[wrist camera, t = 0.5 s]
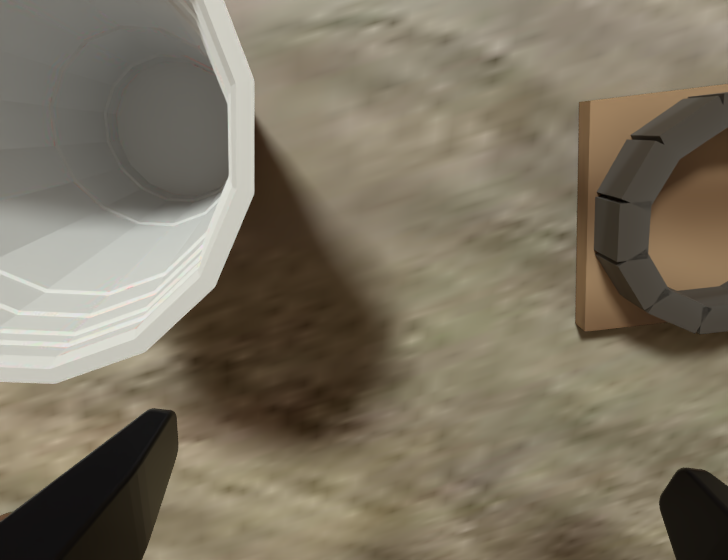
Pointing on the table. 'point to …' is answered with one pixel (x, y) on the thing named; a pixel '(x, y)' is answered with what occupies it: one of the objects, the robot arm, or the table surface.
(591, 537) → the table surface
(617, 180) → the collar
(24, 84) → the plastic cup
